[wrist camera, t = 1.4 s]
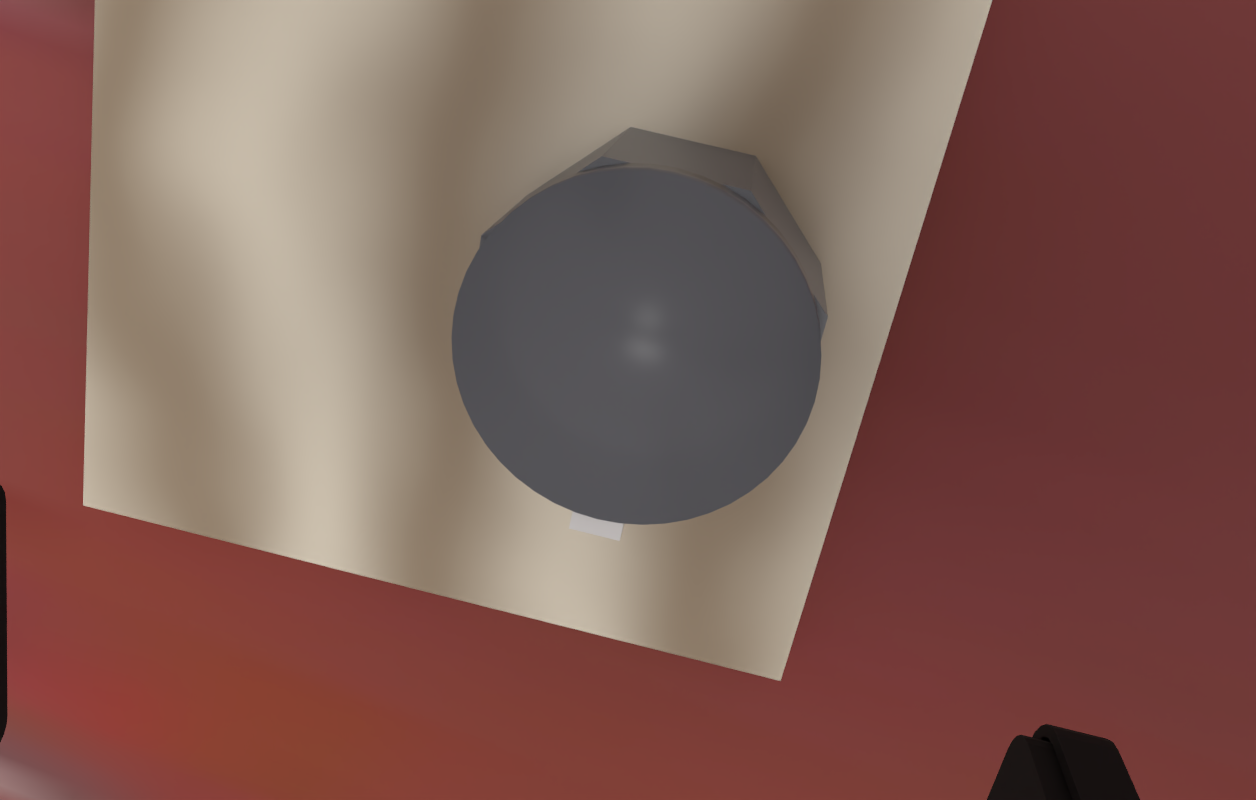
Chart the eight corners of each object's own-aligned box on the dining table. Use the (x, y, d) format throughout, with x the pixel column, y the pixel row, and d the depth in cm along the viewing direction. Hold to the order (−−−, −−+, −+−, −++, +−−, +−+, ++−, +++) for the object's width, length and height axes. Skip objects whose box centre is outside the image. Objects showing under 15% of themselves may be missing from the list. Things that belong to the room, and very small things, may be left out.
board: (1171, -616, 19) (1333, -863, 13) (780, 653, 29) (779, 817, 23) (152, -815, 20) (-96, -1126, 14) (109, 485, 29) (-48, 604, 24)
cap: (851, 172, 23) (867, 221, 18) (766, 475, 26) (762, 581, 21) (539, 100, 23) (481, 131, 19) (486, 407, 26) (425, 498, 21)
